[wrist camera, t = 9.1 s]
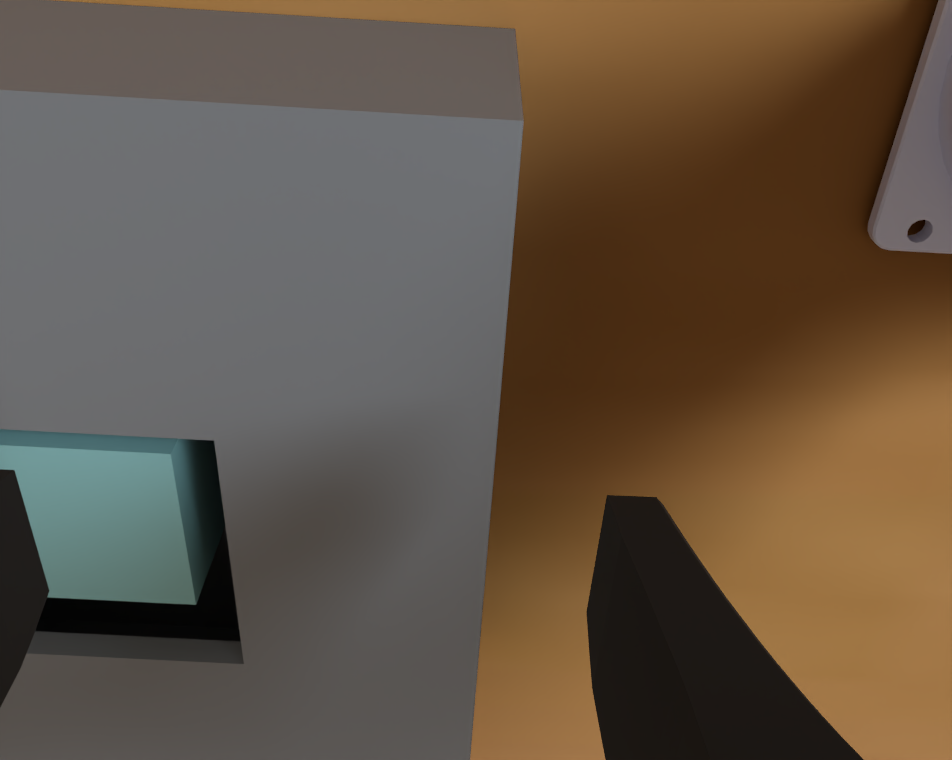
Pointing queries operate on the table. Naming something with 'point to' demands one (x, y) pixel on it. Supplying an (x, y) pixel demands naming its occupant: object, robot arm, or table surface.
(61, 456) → the teal rectangular block
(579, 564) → the table surface
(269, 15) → the gray slotted box
